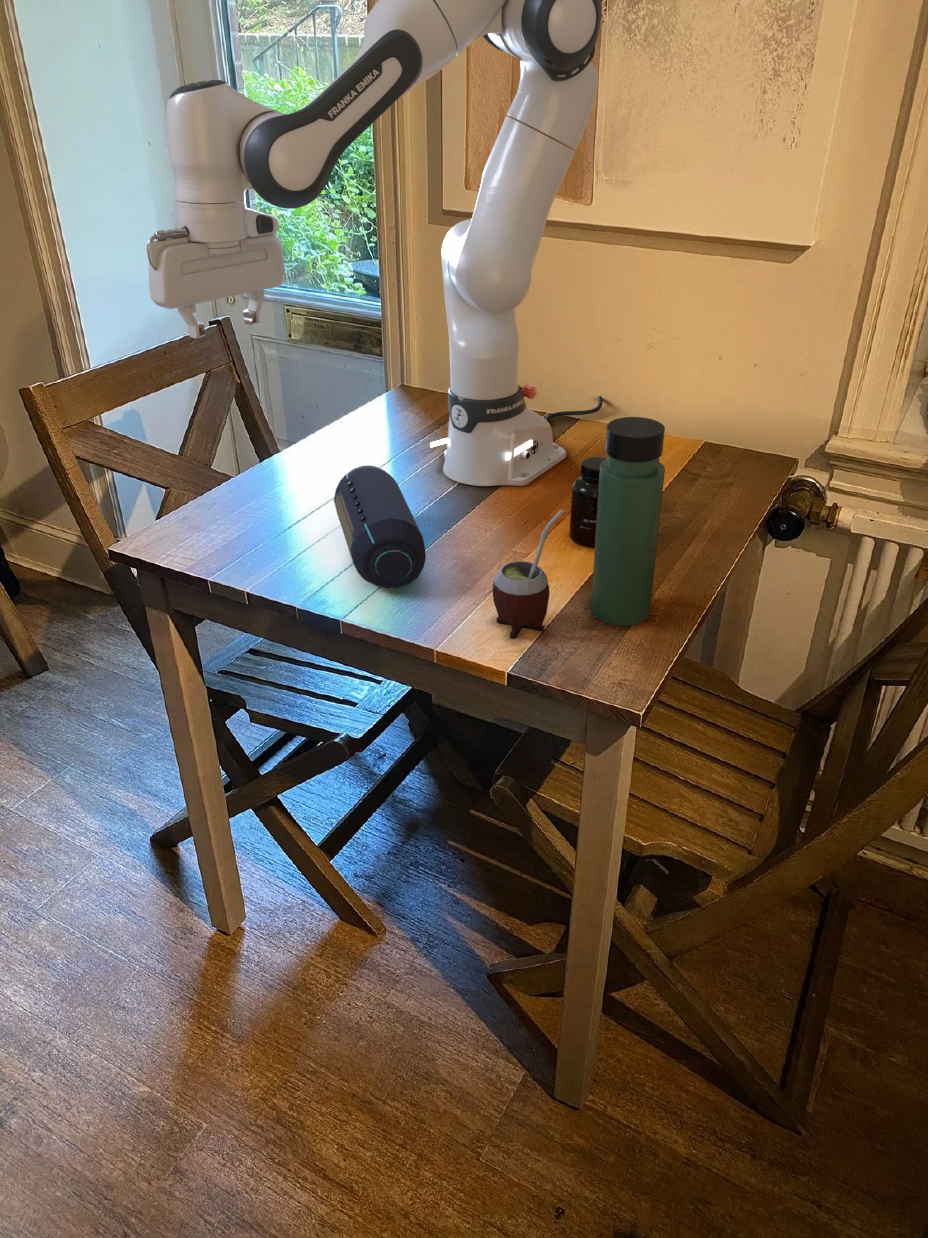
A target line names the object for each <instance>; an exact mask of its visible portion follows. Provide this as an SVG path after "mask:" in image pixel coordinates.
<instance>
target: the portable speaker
mask: <svg viewBox="0 0 928 1238" xmlns="http://www.w3.org/2000/svg"><path fill="white" fill-rule="evenodd" d="M333 502H334V507H335V511H336V516H337V517H338V521H339V524H340V527H341V530H342V533H343V536H344V540H345V542H346V545H347V549H348V551H349V554H350V555H349V556H350V557H351V561H352V564H353V566H354V568H355V570H356V572H357V574H358V575H359V576H360V577H361V578H362V579H363V580H364V581H366V582H368V583H369V584H372V585H374V586H376V587H379V588H383V589H400V588H403V587H406V586H408V585H411V584H412V583H413V582H415V581H416V580H417V579H418V578H419V577H420V575H421V574H422V571H423V569H424V568H425V564H426V557H427V554H426V546H425V545H426V544H425V540H424V536H423V534H422V532H421V530H420V528H419V525H418V524H417V521H416V520H415V517H414V516H413V513H412V512H411V509H410V507H409V505H408V503H407V500H406V498H405V496H404V495H403V493H402V489H401V487H400V486H399V484H398V482H397V480H395V478H394V477H393V476H392V475H391V474H390V473H388V472H387V470H384V469H383V468H381V467H379V466H376V465H361V466H358V467H354V468H352V470H349V471H348V472H347V473H346V474H345V475H344V476H343V477H342V478H341V479H340V480H339V482H338V484H337V486H336V488H335V492H334V497H333Z"/></svg>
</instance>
